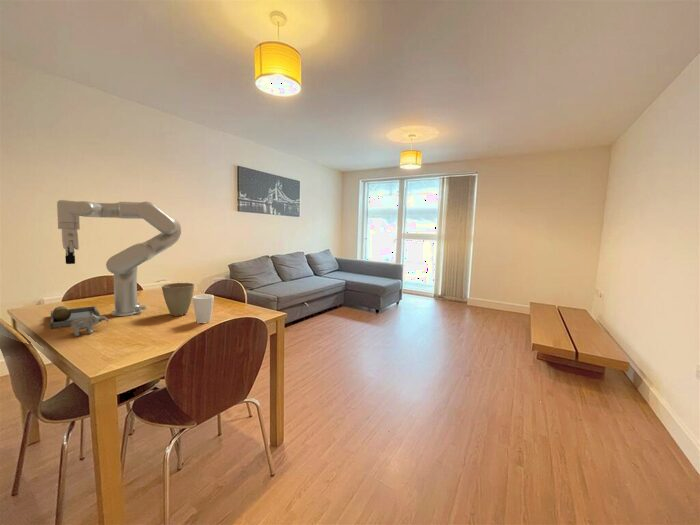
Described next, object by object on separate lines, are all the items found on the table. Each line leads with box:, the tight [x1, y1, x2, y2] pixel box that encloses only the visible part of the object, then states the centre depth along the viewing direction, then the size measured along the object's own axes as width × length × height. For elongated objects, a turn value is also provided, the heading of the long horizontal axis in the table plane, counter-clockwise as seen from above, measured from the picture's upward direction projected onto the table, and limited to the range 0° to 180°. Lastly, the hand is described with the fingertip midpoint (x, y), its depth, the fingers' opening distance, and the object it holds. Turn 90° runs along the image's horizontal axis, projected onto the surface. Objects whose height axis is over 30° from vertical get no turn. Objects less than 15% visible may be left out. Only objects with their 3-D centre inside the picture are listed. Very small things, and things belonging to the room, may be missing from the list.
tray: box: [50, 305, 102, 330], centre depth 139 cm, size 24×17×2 cm
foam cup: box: [192, 293, 215, 324], centre depth 144 cm, size 10×9×13 cm
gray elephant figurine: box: [70, 313, 110, 337], centre depth 124 cm, size 9×12×8 cm
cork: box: [52, 305, 71, 322], centre depth 137 cm, size 6×6×11 cm
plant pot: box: [161, 282, 195, 316], centre depth 154 cm, size 15×15×16 cm
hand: (70, 263), depth 141 cm, fingers closed
